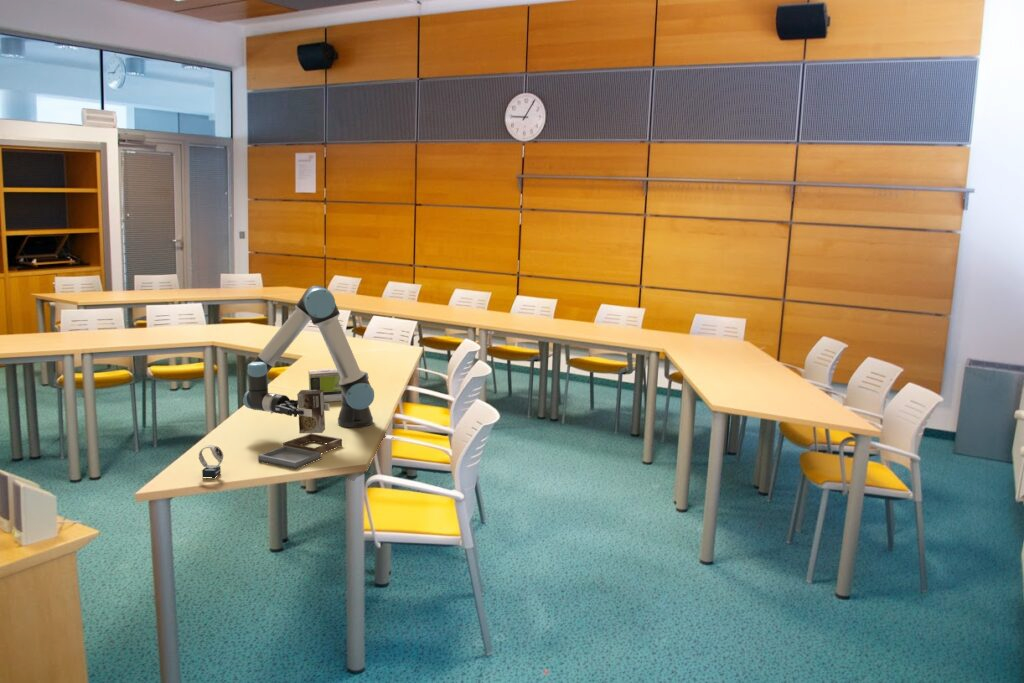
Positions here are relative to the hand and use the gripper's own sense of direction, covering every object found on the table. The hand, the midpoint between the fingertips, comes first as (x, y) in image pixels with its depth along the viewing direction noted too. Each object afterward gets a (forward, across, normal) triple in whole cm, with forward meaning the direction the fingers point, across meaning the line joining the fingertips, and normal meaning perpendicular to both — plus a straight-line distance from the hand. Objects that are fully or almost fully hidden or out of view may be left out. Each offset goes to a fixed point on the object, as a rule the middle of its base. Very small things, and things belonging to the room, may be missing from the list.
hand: (320, 410), depth 308 cm
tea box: (-53, -65, -16) cm, 86 cm away
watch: (-12, +43, -16) cm, 47 cm away
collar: (-4, 0, -16) cm, 17 cm away
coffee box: (-4, 0, -9) cm, 10 cm away
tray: (-1, +16, -16) cm, 23 cm away
